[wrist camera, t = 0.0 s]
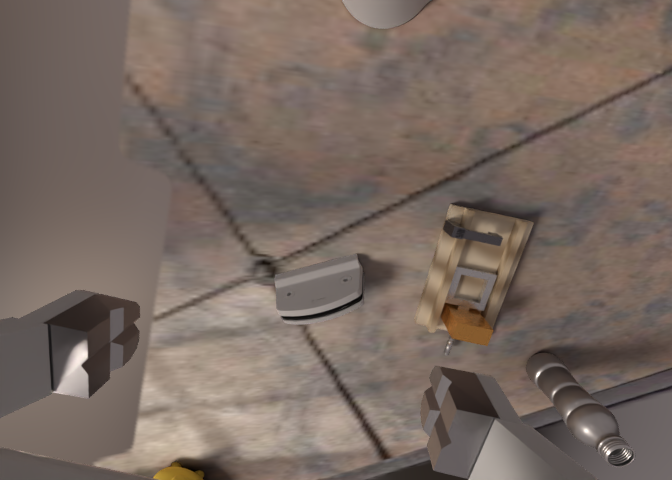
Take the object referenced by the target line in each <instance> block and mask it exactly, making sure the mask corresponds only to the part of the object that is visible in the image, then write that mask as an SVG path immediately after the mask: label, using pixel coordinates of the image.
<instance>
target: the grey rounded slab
mask: <svg viewBox="0 0 672 480" xmlns="http://www.w3.org/2000/svg"><path fill="white" fill-rule="evenodd" d="M362 271H363V267H362V265H361V264H360V262H359V260H358V255H357V254H353V255H349V256H345V257H341V258H337V259H334V260H330V261H326V262H322V263H318V264H315V265H311V266H307V267H303V268H299V269H295V270H292V271H288V272H284V273H280V274H276V275H275V286H276V308H277V312H278V314H279V315H280V316H281V319H282V320H283V321H284V322H285V323H286V324H312V323H318V322H323V321H327V320H330V319H334V318H337V317H339V316H342V315H344V314H347V313H349V312H351V311H353V310H355V309H357V308H359V307H361V306H362V305H363V304H364V273H362Z"/></svg>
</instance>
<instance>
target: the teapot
mask: <svg viewBox="0 0 672 480" xmlns="http://www.w3.org/2000/svg"><path fill="white" fill-rule="evenodd" d="M203 477H204V472H203V471H200V470H197V471H195V472H193V471H191V470H189V469H186V468H182V467H181V465H180V464H179V463H178V462H173V463H172V464H171V467H166V468H164V469H162V470H161V471H159V472H158V473H157V474H156V475H155V476H154V477H153V478H154V479H159V480H204V479H203Z"/></svg>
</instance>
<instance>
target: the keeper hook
mask: <svg viewBox="0 0 672 480" xmlns="http://www.w3.org/2000/svg"><path fill="white" fill-rule="evenodd" d="M443 230H444V231H445V232H446V233H447V234H448V235H449V236H450V237H453V238H457V239H468V240H473V241H477V242H482V243H487V244H491V245H496V246H500V245H501V243H502V240H503V238H502V236H500V235H499V234H497V233H492V232H488V234H487V233H483V232H478V231H473V230H469V229H466V228H464V227H463V226H461V225H460V224H459V223H457V222H455V221H450V220H446V221H445V224H444V227H443Z"/></svg>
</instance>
